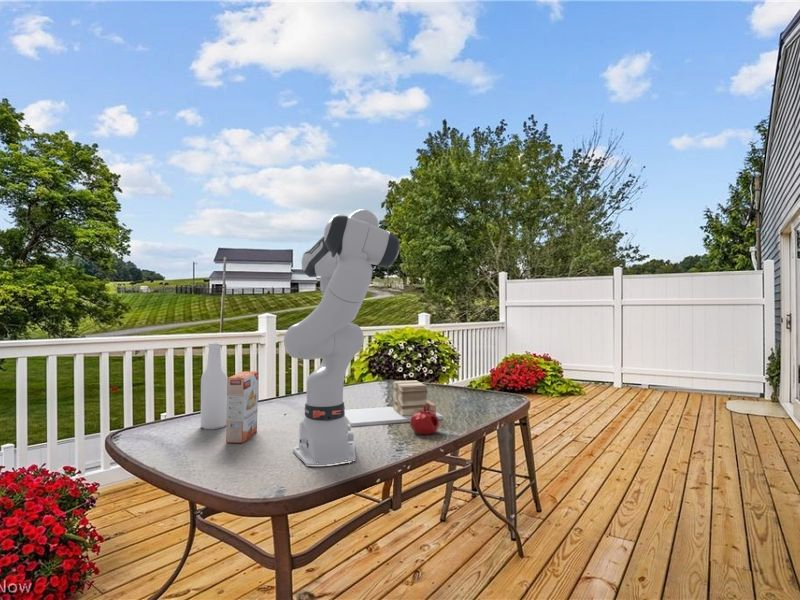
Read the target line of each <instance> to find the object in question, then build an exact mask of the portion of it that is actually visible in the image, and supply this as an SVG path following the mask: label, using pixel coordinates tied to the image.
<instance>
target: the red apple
mask: <svg viewBox="0 0 800 600" xmlns="http://www.w3.org/2000/svg"><path fill="white" fill-rule="evenodd" d="M423 407H424V410H423V412H422V411H420V410H418V412H419V411H420V412H419V413H416V414H414V415H413V416H412V417H411V420H410V422H409V424H410V428H411V429H412V431H414V432H415V433H416V434H418V433H420V434H419V435H432V434H431V433H433V434H435V433H436V432H437V430H438V428H439V423H440V421H439V420H440V419H439V420H438V418H437V417H436V415H435V414H433V412H435V411H433V410H431V411H433V412H432V413H431V411H426V405H424V406H423Z"/></svg>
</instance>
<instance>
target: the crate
mask: <svg viewBox="0 0 800 600" xmlns="http://www.w3.org/2000/svg"><path fill="white" fill-rule="evenodd" d="M392 390H393V392H392V394H393V395H392V407H393V409H395V410H396V411H397V412H398V413H400V414H401V415H402V416H403V415H414V414H416V413H419V412H420V411H422V412H423V410H424V407H423V406H424V405H426V411H427V400H428V386H427V385H426V384H424V383H423V382H420V381H418V380H398V381H393V382H392ZM418 410H420V411H419V412H418Z"/></svg>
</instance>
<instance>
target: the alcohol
mask: <svg viewBox="0 0 800 600" xmlns="http://www.w3.org/2000/svg"><path fill="white" fill-rule="evenodd" d="M221 356H222V355H221V342H218V341H215V342H214V341H213V342H209V343H208V356H207V365H206V369H205V370H204V372H202V374H201V378H200V427H201V428H202V429H203V428H204V429H203V430H218V429H222V428H225V427H226V419H227V378H228V375H227V372H226V370H224V369H223V366H222V357H221Z"/></svg>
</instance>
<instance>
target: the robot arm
mask: <svg viewBox="0 0 800 600" xmlns="http://www.w3.org/2000/svg"><path fill="white" fill-rule="evenodd" d="M379 224H380V223H379V220H378V218H377V216H376V215H375V214H374V213H373V212H372V211H370V210H368V209H362V208H361V209H358V210H355V211H354V212H352V213H351V214H350V215H346V214H334V215H333V216H332V217H331V218H330V220H329V221H328V222H327V224H326V225H325V227H324V234H323V236H322V237H320V239H319V240H318V241H317V242H316V243H315V244H314V245H313V246H312V247H311V248H309V249H307V250H306V251H304V252H303V255H302V257H301V269H302V271H303V273H304V274H305V275H306V276H308V277H309V278H316V277H320V279H319V280H320V281H319V284H320V285H319V287H320V289H319V291H320V292H321V299H320V301H319V303H318V304H317V306H316V308H314V309H313V310H312V311H311V312H310V313H309V314H308V315H307V316H306V317H305V318H304V319H302V320H301V321H299V322H296V323H295V324H292V325H290V326H289V327H288V328H287V330H286V332H285V334H284V337H283V344H284V345H283V346H284V349H285V351H286V353H287V354H288V355H289V356H290V357H291V358H294V359H300V360H316V359H322V361H321V363H320V364H319V366H318V368H316V369H315V370H314V371H312V372H311V373H310V374H309V375H308V376H307V379H306V403H305V404H304V417H303V420H302V421H301V422H300V423H299V431H298V432H299V433H298V434H299V435H298V445H297V446H294V447H293V448H292V452H293V453H294V455H296V457H297V458H298V459H299V460H300V459H301V460H302V461H303V462H304V463H305V464H306V465H327V464H335V463H341V462H348V461H353V460H355V459H357V458H356V457H357V456H356V446H355V445H356V444H355V442H354V438H355V437H354V432H350V431H351V430H352V429H351V426H350V425H349V423H348V419H347V418H345V417H344V415H345V410H346V408H345V402H344V401H343V400H344V384H345V383H344V381H345V377H346V372H347V371H348V370H347V369H348V367H349V365H350V363H351V361H352V360H353V358H354V357H355V356H356V355H357V354H358V353H360V351H361V349H362V348H363V346H364V342H365V340H364V339H365V338H364V332H363V330H362V329H361V327H360V326H359V325H358V324H356V323H353V321H354V320H355V319H356V317H357V315H358V313H359V311H360V309H361V307H362V305H363V302H364V301H365V299H366V296H367V294H368V290H369V287H370V285H371V281H372V277H373V270H374V269H373V266H372V265H375V266H376V267H380V268H389V267H390V266H392V265H393V264H394V262H395V261H396V260H397V258H398V255H399V253H400V246H401V245H400V244H401V243H400V240H399V238H398V236H397V235H395V234H394V233H392V232H391V231H388V230H385V229H383V228H381V227H379ZM349 432H350V433H349ZM301 460H300V461H301ZM345 460H347V461H345ZM302 461H301V462H302ZM303 462H302V463H303ZM304 463H303V464H304ZM317 463H318V464H317ZM305 464H304V465H305ZM306 465H305V466H306Z"/></svg>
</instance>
